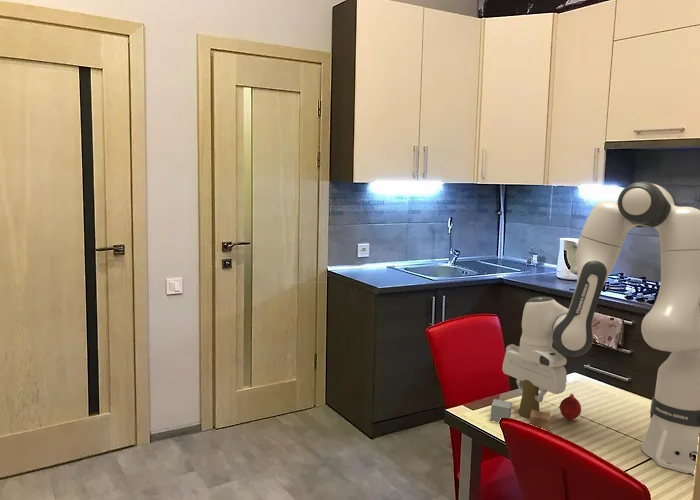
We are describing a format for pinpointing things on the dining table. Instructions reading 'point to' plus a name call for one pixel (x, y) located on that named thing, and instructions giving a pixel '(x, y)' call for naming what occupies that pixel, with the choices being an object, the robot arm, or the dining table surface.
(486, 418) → the dining table surface
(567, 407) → the onion
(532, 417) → the walnut block
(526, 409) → the cork
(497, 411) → the slate block
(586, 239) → the robot arm
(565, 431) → the dining table surface
